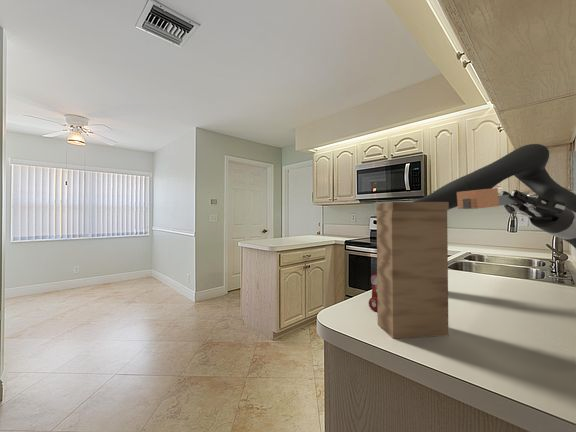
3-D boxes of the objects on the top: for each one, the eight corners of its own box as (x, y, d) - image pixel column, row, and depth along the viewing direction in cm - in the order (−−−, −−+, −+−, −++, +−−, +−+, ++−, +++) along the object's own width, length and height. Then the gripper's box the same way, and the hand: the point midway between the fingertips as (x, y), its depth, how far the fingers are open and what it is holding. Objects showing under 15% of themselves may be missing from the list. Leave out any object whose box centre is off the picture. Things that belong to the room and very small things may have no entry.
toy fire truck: (399, 321, 71) (399, 283, 71) (364, 308, 82) (364, 274, 82) (414, 316, 75) (414, 280, 75) (379, 304, 85) (379, 272, 85)
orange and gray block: (457, 208, 69) (456, 192, 69) (513, 202, 71) (511, 186, 71) (477, 208, 63) (476, 190, 63) (537, 201, 65) (535, 184, 65)
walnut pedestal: (376, 323, 69) (375, 203, 69) (426, 321, 71) (424, 203, 71) (394, 339, 60) (392, 202, 61) (449, 336, 62) (448, 201, 62)
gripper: (534, 208, 77) (487, 183, 75) (596, 207, 63) (541, 177, 61) (525, 231, 77) (478, 207, 74) (585, 235, 63) (530, 206, 60)
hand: (507, 194), depth 68 cm, fingers closed on orange and gray block, 2 cm apart
